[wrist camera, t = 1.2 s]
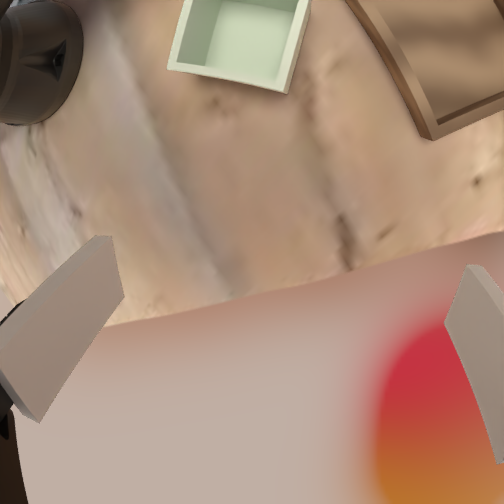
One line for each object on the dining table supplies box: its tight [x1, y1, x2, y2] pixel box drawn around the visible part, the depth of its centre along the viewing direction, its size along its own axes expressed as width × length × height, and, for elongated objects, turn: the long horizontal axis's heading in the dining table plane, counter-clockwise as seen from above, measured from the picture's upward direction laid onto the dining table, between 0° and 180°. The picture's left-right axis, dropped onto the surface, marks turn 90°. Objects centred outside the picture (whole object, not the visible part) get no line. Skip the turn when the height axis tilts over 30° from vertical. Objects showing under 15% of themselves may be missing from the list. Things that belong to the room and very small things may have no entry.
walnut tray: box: [345, 0, 504, 141], centre depth 17 cm, size 16×16×3 cm
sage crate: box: [167, 0, 312, 94], centre depth 19 cm, size 8×8×7 cm
